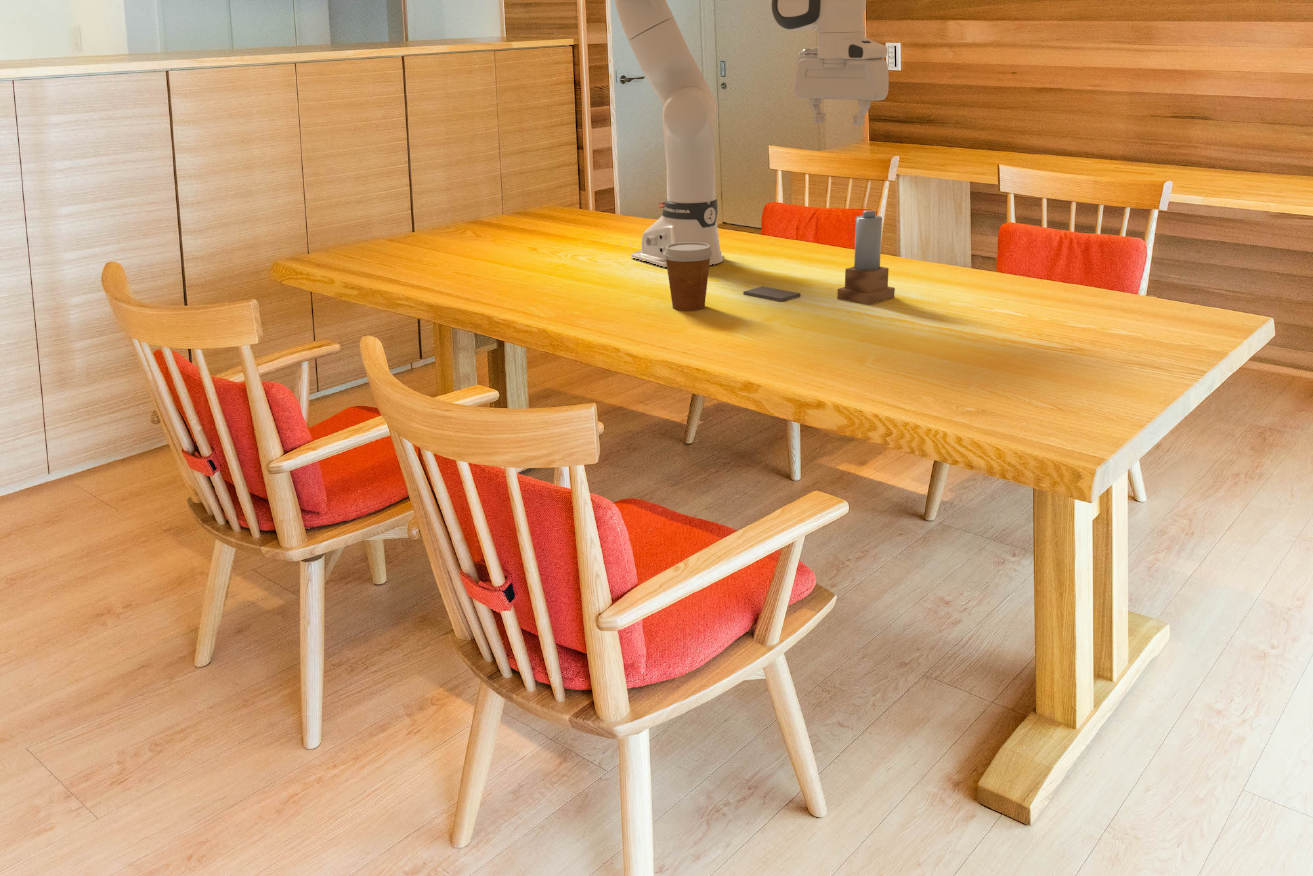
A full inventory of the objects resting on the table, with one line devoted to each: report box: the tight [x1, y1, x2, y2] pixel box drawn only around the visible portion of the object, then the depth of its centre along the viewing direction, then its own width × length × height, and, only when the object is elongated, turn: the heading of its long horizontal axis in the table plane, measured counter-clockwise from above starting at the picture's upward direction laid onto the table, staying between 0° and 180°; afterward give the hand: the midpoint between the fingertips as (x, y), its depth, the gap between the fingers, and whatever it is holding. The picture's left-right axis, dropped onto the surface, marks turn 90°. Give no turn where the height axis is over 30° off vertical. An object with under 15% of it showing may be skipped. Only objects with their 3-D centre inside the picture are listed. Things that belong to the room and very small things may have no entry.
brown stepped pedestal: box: [837, 266, 896, 306], centre depth 225 cm, size 8×8×6 cm
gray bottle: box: [853, 209, 883, 271], centre depth 222 cm, size 5×5×11 cm
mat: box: [743, 285, 801, 302], centre depth 231 cm, size 10×6×1 cm, turn 44°
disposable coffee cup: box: [663, 242, 713, 312], centre depth 221 cm, size 10×10×12 cm
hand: (838, 123), depth 220 cm, fingers open, 8 cm apart
